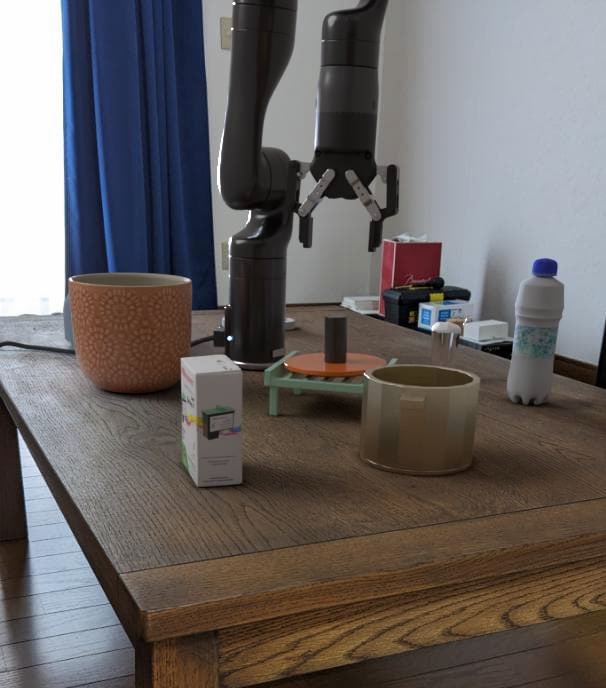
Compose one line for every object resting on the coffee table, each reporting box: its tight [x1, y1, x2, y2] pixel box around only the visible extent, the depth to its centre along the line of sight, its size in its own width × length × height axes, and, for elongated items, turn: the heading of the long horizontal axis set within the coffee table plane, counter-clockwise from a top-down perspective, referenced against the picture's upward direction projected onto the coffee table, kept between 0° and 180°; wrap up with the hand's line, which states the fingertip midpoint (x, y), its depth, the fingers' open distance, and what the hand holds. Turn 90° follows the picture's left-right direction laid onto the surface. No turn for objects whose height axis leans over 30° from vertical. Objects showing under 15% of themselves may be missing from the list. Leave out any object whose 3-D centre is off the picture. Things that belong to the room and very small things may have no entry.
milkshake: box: [430, 317, 469, 369], centre depth 140 cm, size 5×5×10 cm
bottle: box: [506, 257, 565, 406], centre depth 127 cm, size 7×7×20 cm
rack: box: [263, 350, 399, 417], centre depth 122 cm, size 15×15×6 cm
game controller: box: [221, 316, 296, 331], centre depth 182 cm, size 15×13×2 cm
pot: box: [359, 363, 482, 477], centre depth 100 cm, size 13×18×10 cm
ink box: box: [180, 354, 243, 488], centre depth 92 cm, size 8×5×12 cm, turn 17°
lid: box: [284, 314, 388, 379], centre depth 120 cm, size 14×14×7 cm
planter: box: [67, 272, 193, 394], centre depth 128 cm, size 17×17×15 cm
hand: (339, 249), depth 116 cm, fingers open, 8 cm apart
